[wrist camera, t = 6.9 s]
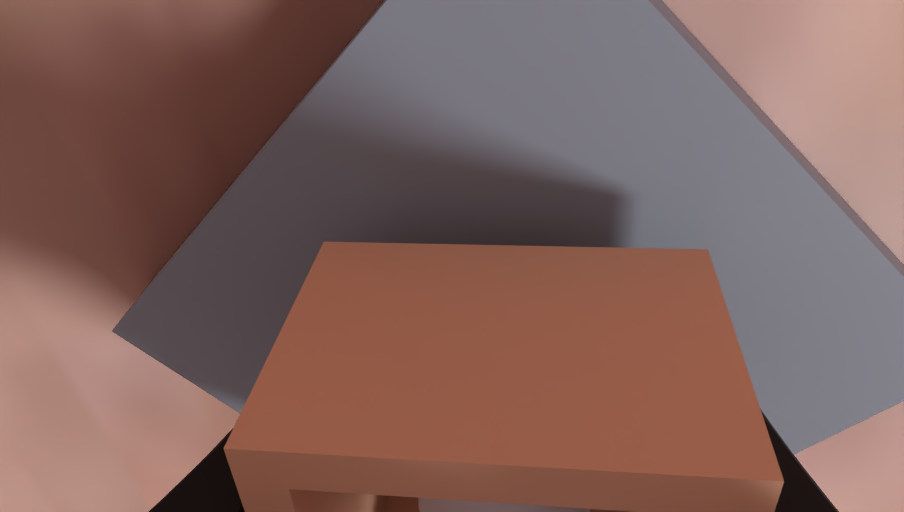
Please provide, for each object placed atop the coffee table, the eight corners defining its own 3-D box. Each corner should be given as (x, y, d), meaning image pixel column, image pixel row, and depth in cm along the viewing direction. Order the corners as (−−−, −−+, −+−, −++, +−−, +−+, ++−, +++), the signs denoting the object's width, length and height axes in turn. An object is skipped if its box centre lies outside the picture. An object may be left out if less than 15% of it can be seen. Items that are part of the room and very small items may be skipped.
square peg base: (517, 535, 18) (508, 754, 14) (148, 285, 15) (-4, 478, 11) (941, 306, 13) (1119, 551, 9) (516, -160, 10) (490, -109, 6)
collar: (663, 501, 13) (700, 743, 10) (367, 482, 14) (310, 703, 11) (708, 248, 10) (784, 480, 7) (323, 241, 11) (224, 448, 7)
